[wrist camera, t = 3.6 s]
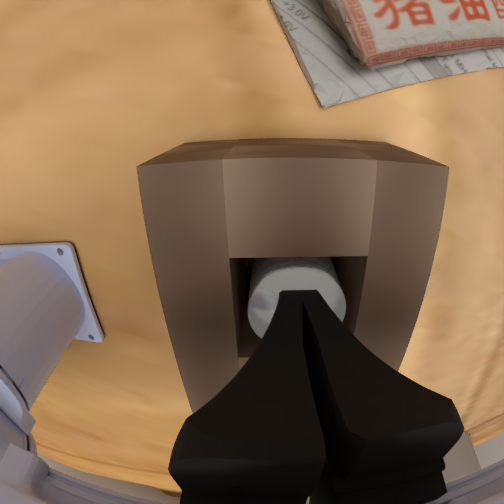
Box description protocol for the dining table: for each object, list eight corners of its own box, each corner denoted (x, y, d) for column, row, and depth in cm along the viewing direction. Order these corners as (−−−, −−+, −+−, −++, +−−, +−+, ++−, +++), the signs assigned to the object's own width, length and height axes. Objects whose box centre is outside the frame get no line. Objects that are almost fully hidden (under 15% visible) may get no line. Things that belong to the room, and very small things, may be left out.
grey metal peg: (255, 274, 17) (249, 349, 12) (252, 212, 15) (245, 271, 10) (320, 274, 17) (339, 346, 12) (324, 212, 15) (352, 269, 10)
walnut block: (223, 417, 24) (216, 475, 19) (184, 143, 14) (136, 166, 9) (338, 415, 23) (346, 473, 18) (386, 142, 14) (449, 167, 8)
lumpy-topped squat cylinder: (391, 449, 27) (404, 510, 20) (479, 420, 26) (500, 471, 18) (378, 477, 32) (386, 526, 24) (455, 453, 30) (468, 497, 23)
